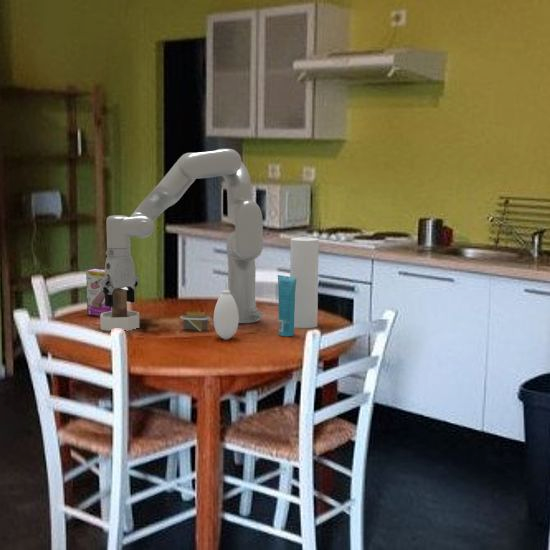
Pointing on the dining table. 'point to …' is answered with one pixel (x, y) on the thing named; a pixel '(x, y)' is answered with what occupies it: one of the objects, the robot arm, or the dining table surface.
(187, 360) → the dining table surface
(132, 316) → the grey round dish
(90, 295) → the candy bar box
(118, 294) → the brown rectangular block
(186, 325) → the grey basket
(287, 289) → the tube
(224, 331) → the sauce bottle
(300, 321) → the cylinder container
